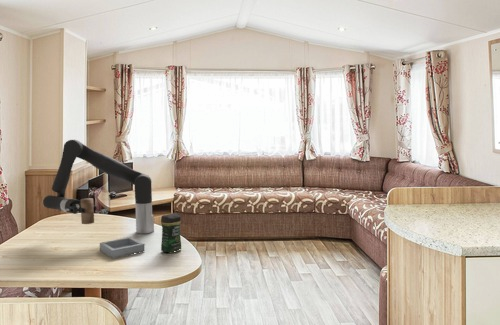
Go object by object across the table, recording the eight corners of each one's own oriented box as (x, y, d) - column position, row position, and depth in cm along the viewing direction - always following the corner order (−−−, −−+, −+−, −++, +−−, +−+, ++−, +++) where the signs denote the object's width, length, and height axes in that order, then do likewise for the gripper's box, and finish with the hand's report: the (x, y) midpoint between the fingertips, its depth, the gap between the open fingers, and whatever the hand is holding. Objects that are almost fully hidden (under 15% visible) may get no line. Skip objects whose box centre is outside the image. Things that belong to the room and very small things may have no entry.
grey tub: (130, 244, 218) (130, 237, 218) (144, 251, 206) (144, 243, 206) (100, 250, 208) (99, 242, 208) (112, 258, 196) (112, 250, 195)
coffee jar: (169, 254, 202) (168, 216, 200) (158, 251, 206) (157, 214, 205) (184, 250, 209) (183, 213, 207) (173, 247, 214) (173, 211, 212)
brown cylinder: (91, 220, 217) (90, 197, 216) (96, 222, 213) (95, 199, 212) (79, 222, 214) (78, 199, 212) (83, 224, 209) (82, 200, 208)
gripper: (57, 200, 214) (77, 204, 205) (83, 196, 226) (102, 199, 217) (58, 215, 215) (77, 219, 206) (83, 210, 227) (102, 214, 217)
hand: (90, 209), depth 211 cm, fingers closed on brown cylinder, 6 cm apart
